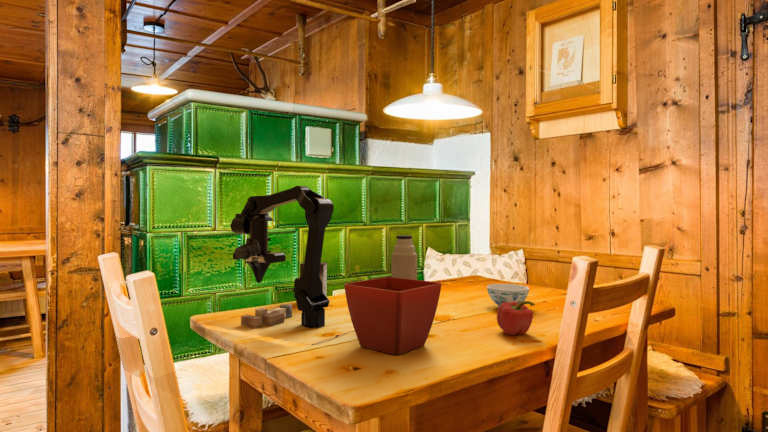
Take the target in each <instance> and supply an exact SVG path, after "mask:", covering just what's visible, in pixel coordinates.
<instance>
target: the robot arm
mask: <svg viewBox="0 0 768 432" xmlns="http://www.w3.org/2000/svg"><path fill="white" fill-rule="evenodd" d="M293 202H297V203H298V205H299V207H301V208H302V209H303V210H304V217H305V218H304V219H305V221H306V224H307V227H308V229H307V237H306V245H305V253H304V260H303V262H304V268H303V274H302V275H301V277H300V276H299V277H296V278H294V282H293V283H294V285H293V289H292V293H293V292H294V293H293V297H294V299H295V303H296V306H297V309H298V311H301V318H300V320H301V322H300V323H301V324H300V325H301V326H303V327H304V328H307V329H319V328H323V327H326V320H325V319H326V317H325V316H326V314H325V313H326V312H325V311H326V309H325V308H328V307H329V305H330V303H331V302H330V299H329V298H328V296H327V294H326V295H325V294H324V292H323V284H322V281H321V278H320V276H319V272H320V264H321V262H322V255H323V247H324V240H325V231H326V228H327V226H328V225H329V224H330V222H331V220H332V218H333V213H334V209H335V206H334V205H335V204H334V203H333V202H332V200H330V198H327V197H325V196H323V195H321V194H319V192H318V193H317V192H315V191H314V190H312V189H311V188H310V187H309V186H306V185H295V186H293V187H291V188H287V189H285V190H282V191H279V192H278V191H277V192H275V193H272V194H269V195H267V194H266V195H251V196H249V197H248V198H247V201H246V203H245V205H244V206H243V209H242V210H241V212H240V213H235V217H234V218H233V219H231V223H230V230H231V232H232V233H234V234H239V235H249V237H247V238H246V239H245V241H246V242H245V243H244V244H241V245H240V246H238V247H236V248H235V249H234V252H233V253H232V260H233V261H234V260H235V261H240V260H244V263H245V264H247V265H248V266H249V267H250V268H251V271H252V273H253V275H254V279H255V281H256V283H258V284H260V283H262V281H263V279H264V277H265V274H266V272H267V270H268V269H269V267H270V266H271V264H277V263H282V262H283V263H284V262H286V254H285V252H279V251H278V252H276V251H275V252H271V249H270V250H269V242H271V240H272V239H271V238H272V237H269V222H273V220H274V219H273V218H272V216H270V214H269V213H271V212H272V211H274V210H275V209H276V208H277V207H280V206H284V205H287V204H290V203H293ZM245 260H246V261H245ZM311 302H315V303H311Z"/></svg>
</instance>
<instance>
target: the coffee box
mask: <svg viewBox="0 0 768 432" xmlns="http://www.w3.org/2000/svg"><path fill="white" fill-rule="evenodd" d="M303 268H304V261H303V262H301V263H300V264H299V277H301V275H302V274H303ZM327 271H328V262H325V261H324V262H322V261H321V264H320V272H319V276H320V278H321V281H322V284H323V292H324V294H325V295H326V296H327V289H328V288H327V286H328V285H327V282H328V281H327V280H328V279H327V278H328V276H327V274H328V272H327ZM311 303H315V302H311Z"/></svg>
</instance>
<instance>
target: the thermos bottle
mask: <svg viewBox="0 0 768 432" xmlns="http://www.w3.org/2000/svg"><path fill="white" fill-rule="evenodd" d="M391 277H395V278H405V279H414V280H418V254H417V252H416V246H415V245H413V236H412V235H409V234H408V235H404V234H402V235H396V244H395V245H394V246H393V252H392V253H391Z"/></svg>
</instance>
